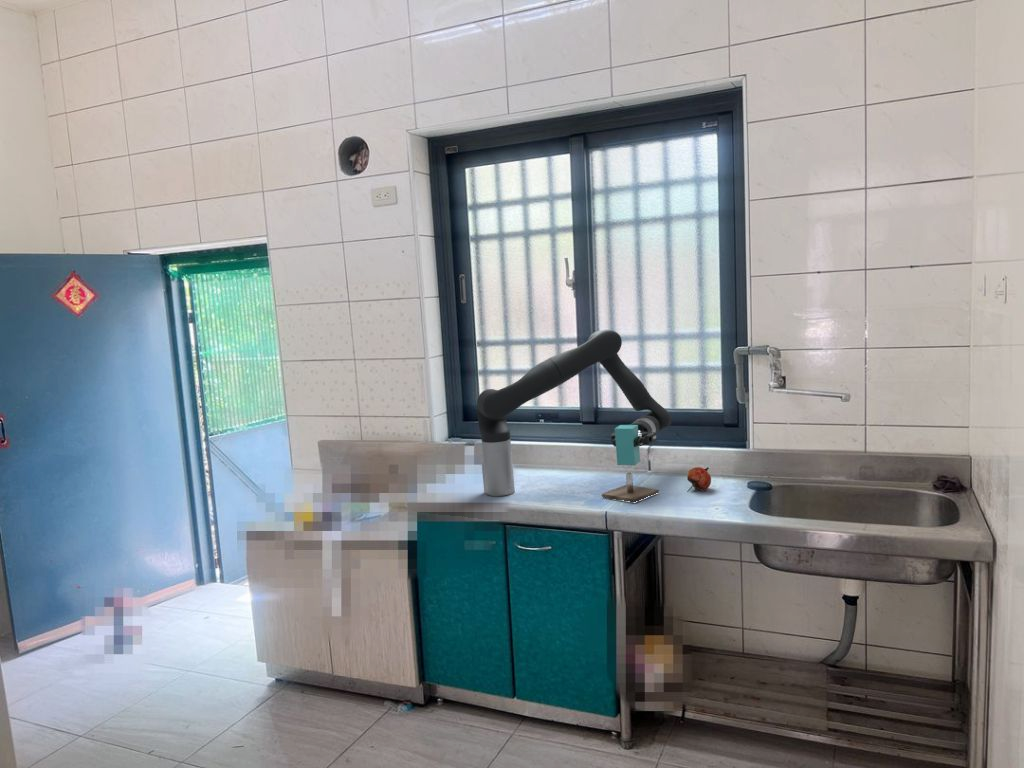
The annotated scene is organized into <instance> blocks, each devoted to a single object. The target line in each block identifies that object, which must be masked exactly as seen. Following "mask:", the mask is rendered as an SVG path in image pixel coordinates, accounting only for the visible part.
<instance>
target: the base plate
mask: <svg viewBox="0 0 1024 768" xmlns="http://www.w3.org/2000/svg"><path fill="white" fill-rule="evenodd" d="M633 490H634V492H632V493H628V492H627V486H626V484H624V485H622V486H619V487H616V488H614V489H611V490H608V491H606V492H605V491H604V492H603V493H601V498H602V497H603V498H602V499H607V498H608V499H607V500H612V499H616V500H615V501H617V500H624V501H630V502H636V501H639V500H641V499H644V498H646V497H648V496H651V495H654V494H656V493H660V490H659V489H656V488H652V487H651V488H650V487H644V486H638V485H637V486H636V485H633ZM654 496H655V495H654Z"/></svg>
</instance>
